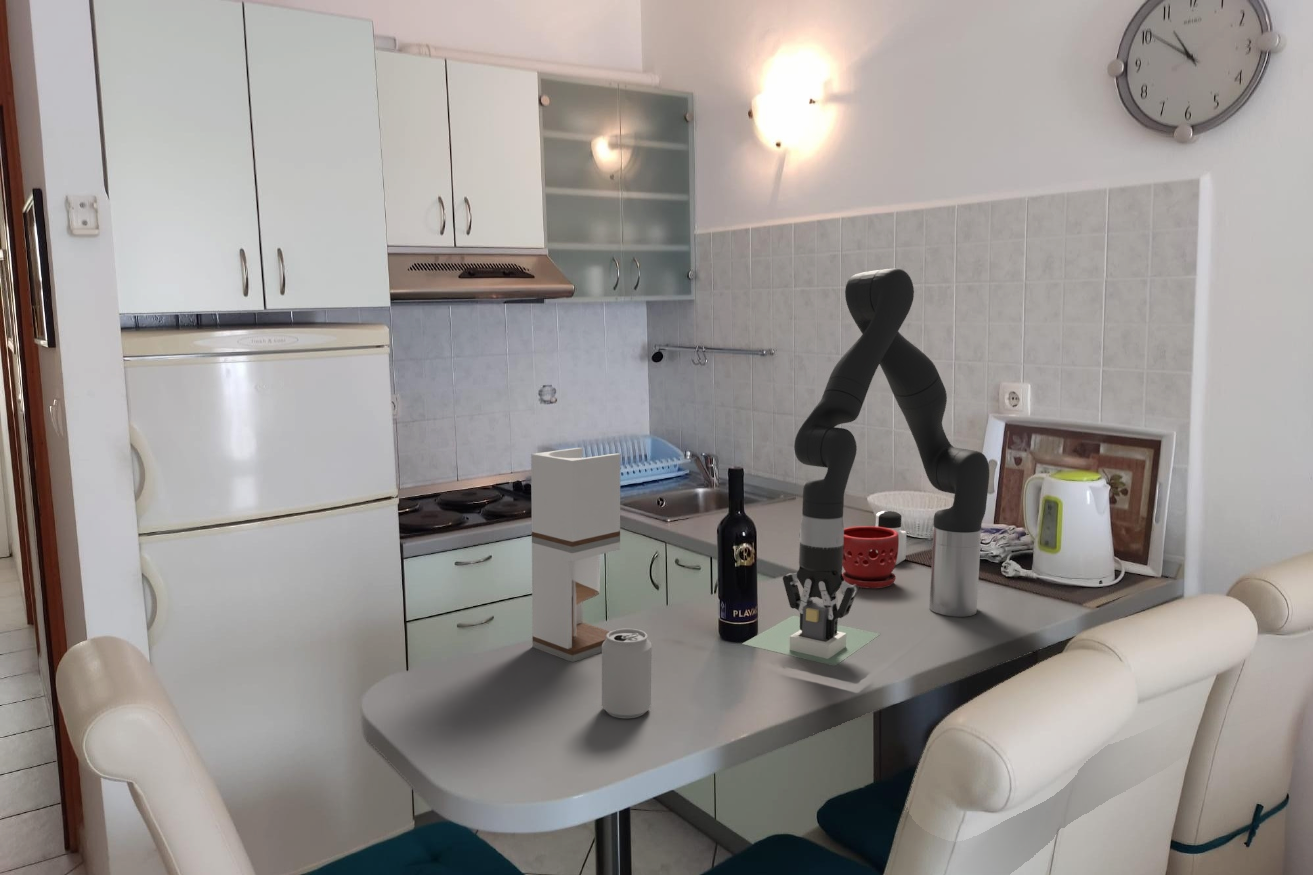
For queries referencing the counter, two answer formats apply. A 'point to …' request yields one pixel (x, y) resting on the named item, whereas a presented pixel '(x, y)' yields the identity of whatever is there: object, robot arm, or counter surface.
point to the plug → (814, 621)
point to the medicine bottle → (893, 522)
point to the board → (811, 642)
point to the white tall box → (570, 546)
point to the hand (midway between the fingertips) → (817, 635)
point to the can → (626, 673)
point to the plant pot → (870, 556)
